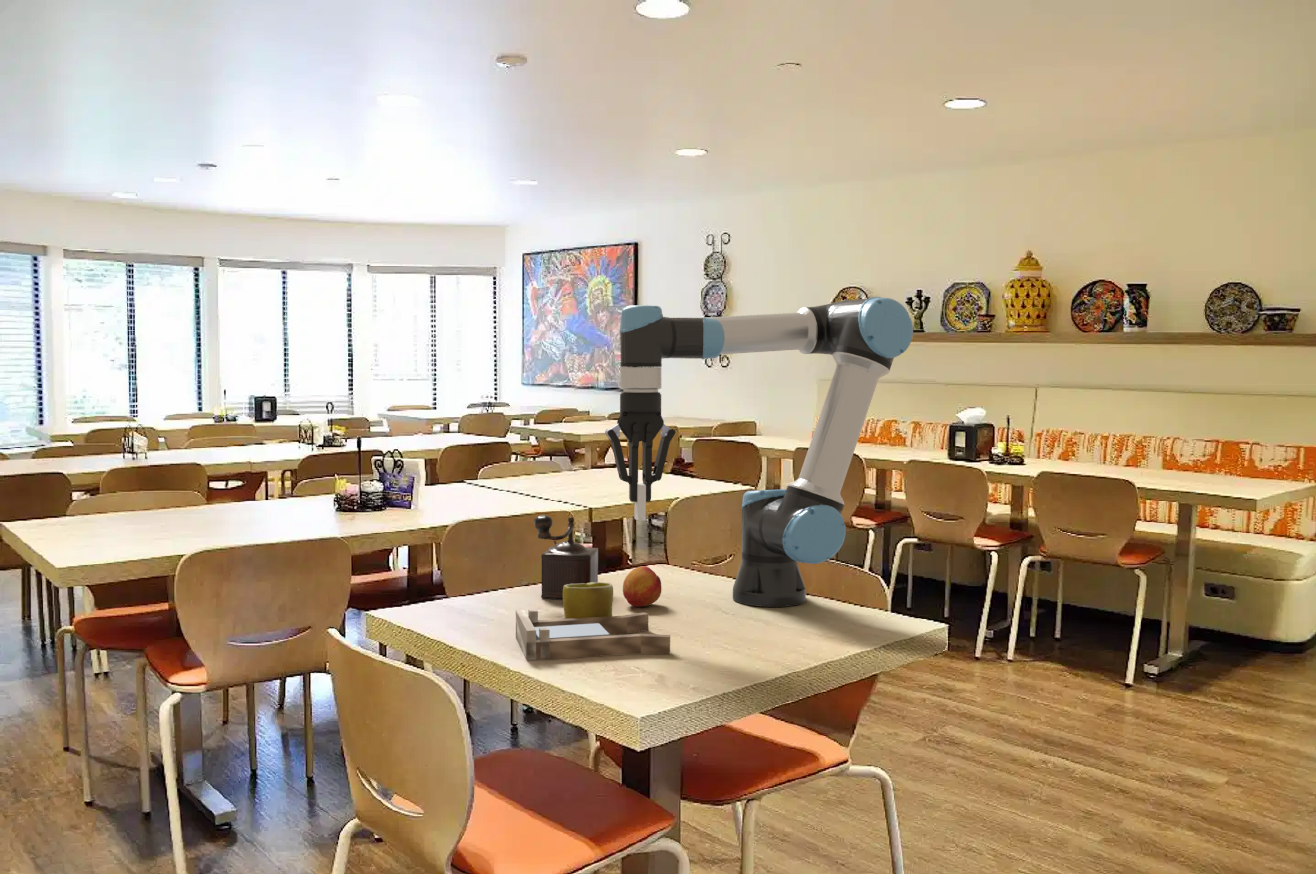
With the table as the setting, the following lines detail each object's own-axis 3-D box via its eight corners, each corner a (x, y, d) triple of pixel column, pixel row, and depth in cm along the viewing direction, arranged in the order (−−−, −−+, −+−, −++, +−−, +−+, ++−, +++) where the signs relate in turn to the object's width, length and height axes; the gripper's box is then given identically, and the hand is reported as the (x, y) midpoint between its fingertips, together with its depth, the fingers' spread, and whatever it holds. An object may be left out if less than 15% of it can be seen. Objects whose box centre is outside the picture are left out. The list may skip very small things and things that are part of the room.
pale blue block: (598, 642, 194) (598, 623, 194) (609, 654, 186) (609, 634, 186) (531, 647, 191) (531, 627, 191) (539, 659, 183) (539, 638, 183)
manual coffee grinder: (549, 588, 237) (549, 506, 236) (599, 590, 236) (599, 507, 234) (530, 604, 222) (530, 516, 221) (584, 606, 220) (584, 517, 219)
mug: (613, 626, 196) (600, 572, 198) (561, 640, 199) (548, 587, 200) (632, 623, 208) (619, 572, 210) (583, 637, 210) (570, 586, 212)
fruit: (666, 609, 218) (666, 570, 217) (627, 611, 216) (627, 571, 215) (657, 601, 226) (657, 562, 225) (618, 602, 224) (618, 564, 223)
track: (646, 628, 203) (646, 601, 202) (672, 654, 185) (672, 625, 185) (514, 635, 197) (514, 608, 196) (528, 663, 179) (528, 633, 179)
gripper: (669, 390, 204) (669, 515, 206) (601, 390, 201) (601, 517, 203) (680, 391, 197) (679, 521, 199) (609, 391, 194) (609, 523, 196)
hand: (640, 519), depth 201 cm, fingers closed
